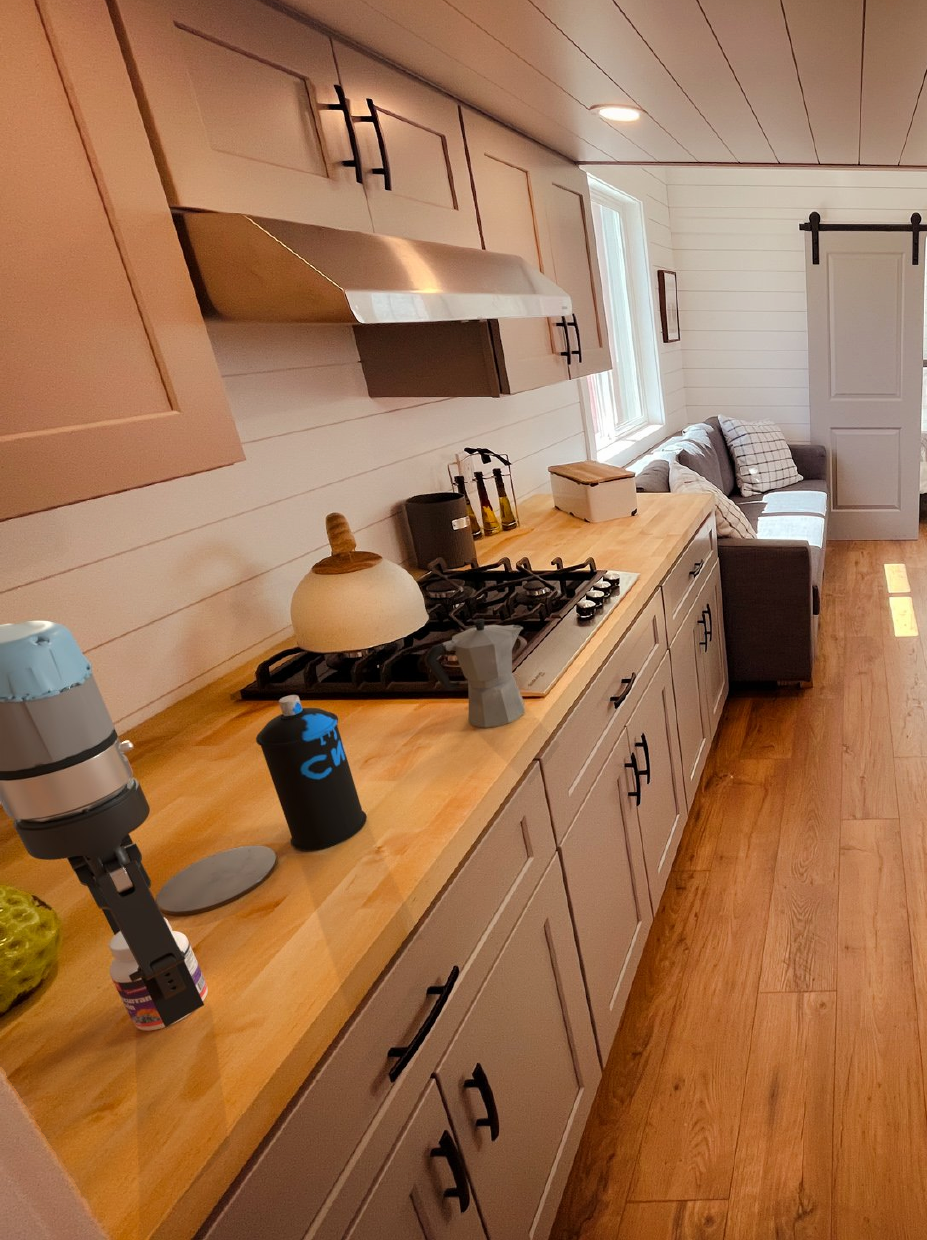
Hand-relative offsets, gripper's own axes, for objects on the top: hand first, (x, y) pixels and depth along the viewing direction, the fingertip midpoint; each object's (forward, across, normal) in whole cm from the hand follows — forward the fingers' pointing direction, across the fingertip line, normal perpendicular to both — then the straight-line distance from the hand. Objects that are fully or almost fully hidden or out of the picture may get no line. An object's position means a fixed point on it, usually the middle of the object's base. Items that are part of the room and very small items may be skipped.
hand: (162, 978), depth 68 cm
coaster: (+4, +18, -8) cm, 20 cm away
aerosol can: (+4, +18, -20) cm, 27 cm away
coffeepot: (+4, +28, -48) cm, 55 cm away
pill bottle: (+4, 0, 0) cm, 4 cm away
